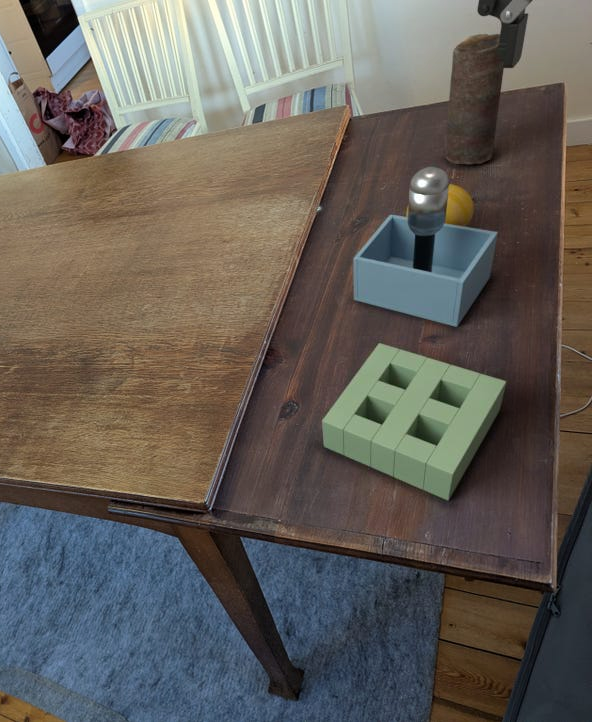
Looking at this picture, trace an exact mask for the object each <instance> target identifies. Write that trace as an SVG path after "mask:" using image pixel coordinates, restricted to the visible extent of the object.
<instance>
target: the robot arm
mask: <svg viewBox="0 0 592 722" xmlns="http://www.w3.org/2000/svg"><path fill="white" fill-rule="evenodd" d="M533 1H534V0H478V4H477V8H476V9H477V10H476V11H477V14H478V15H479V16H480V17H488V16H490V17H494V18H496V19H498V20H499V21H500V32H499V34H500V39H499V46H498V53H497V56H498V59H499V61H504V64H503V68H504V69H514V68H515V67H516V65H517V64H518V63H519V62H520V60H521V58H522V54H523V48H524V44H525V43H524V42H525V37H526V32H527V31H526V30H527V24H528V18H529V13H527V12H526V8H527V7H528V6H529V5H531V3H532V2H533Z"/></svg>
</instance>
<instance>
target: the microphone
mask: <svg viewBox="0 0 592 722" xmlns="http://www.w3.org/2000/svg"><path fill="white" fill-rule="evenodd" d="M449 184H450V178H449V176H448V174H447V172H446V171H445V170H443V169H442V168H440V167H437V166H427V167H423V168H421V169H419V170H418V171H416V173H415V174H414V175H413V176H412V178H411V180H410V183H409V187H408V188H409V190H408V191H409V192H408V205H407V207H408V226H409V228H410V230H411V231H412V232H413V233H414V234H415V242H414V257H413V269H418V270H422V271H427V272H432V263H433V253H434V242H435V234H436V233H437V232H438V231H440V229H441V228H442V227H443V225H444V223H445V219H446V210H447V200H448V191H449Z"/></svg>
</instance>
